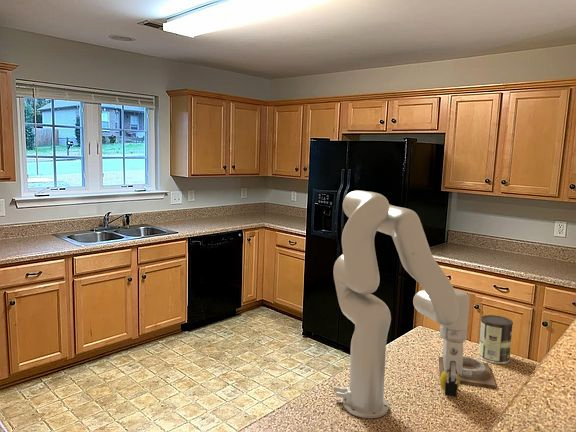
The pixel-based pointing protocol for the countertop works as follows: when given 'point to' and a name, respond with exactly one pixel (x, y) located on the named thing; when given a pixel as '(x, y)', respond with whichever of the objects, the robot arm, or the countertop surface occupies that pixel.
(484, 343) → the coffee can
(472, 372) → the steel ring
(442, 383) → the lemon
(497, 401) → the countertop surface
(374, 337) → the robot arm
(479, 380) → the walnut board
